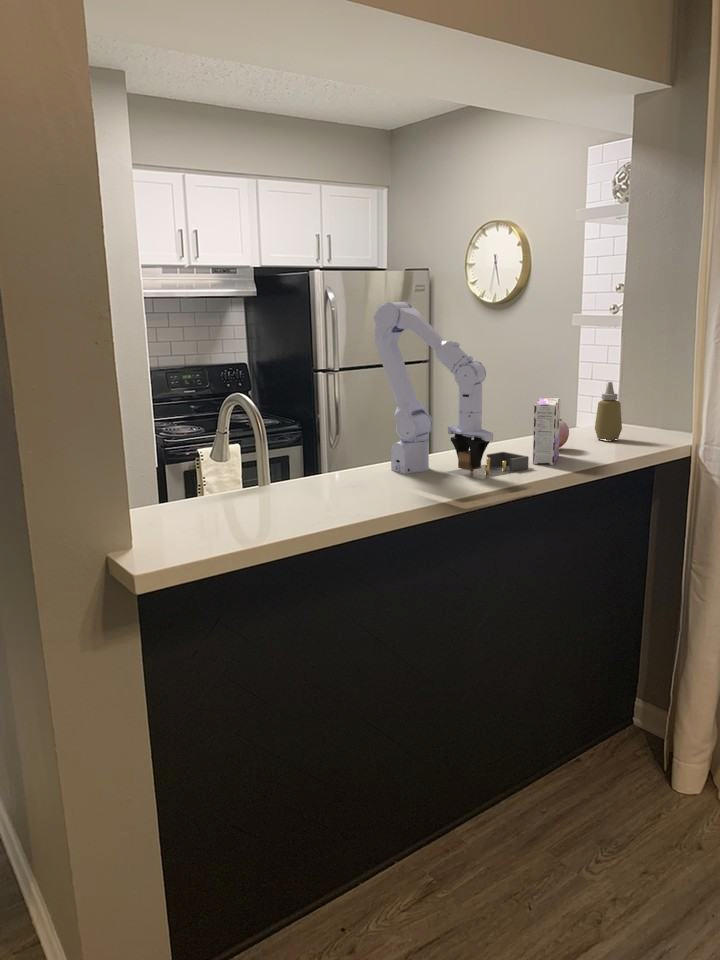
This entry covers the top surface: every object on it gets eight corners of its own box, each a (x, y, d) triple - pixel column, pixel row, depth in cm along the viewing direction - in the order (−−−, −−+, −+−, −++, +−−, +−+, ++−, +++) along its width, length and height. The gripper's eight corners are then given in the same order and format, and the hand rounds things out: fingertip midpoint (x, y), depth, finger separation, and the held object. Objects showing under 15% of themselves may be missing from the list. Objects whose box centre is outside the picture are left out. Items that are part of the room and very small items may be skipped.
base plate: (478, 484, 188) (478, 469, 188) (446, 476, 198) (446, 461, 197) (534, 473, 199) (534, 459, 198) (501, 466, 208) (501, 452, 208)
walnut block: (468, 470, 191) (469, 454, 190) (458, 467, 195) (458, 452, 194) (481, 468, 194) (481, 452, 193) (470, 465, 197) (470, 450, 196)
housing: (511, 471, 196) (512, 459, 195) (486, 465, 203) (486, 454, 203) (528, 468, 199) (528, 456, 198) (502, 462, 207) (503, 451, 206)
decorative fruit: (540, 446, 235) (541, 413, 232) (568, 447, 233) (569, 413, 230) (539, 452, 226) (540, 418, 224) (568, 453, 224) (569, 418, 222)
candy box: (538, 455, 222) (539, 397, 219) (559, 455, 220) (561, 397, 217) (532, 464, 209) (533, 403, 206) (554, 465, 208) (556, 404, 204)
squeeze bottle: (615, 437, 246) (618, 380, 242) (625, 441, 238) (628, 383, 234) (590, 438, 246) (592, 381, 242) (599, 442, 238) (602, 383, 234)
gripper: (438, 410, 195) (438, 463, 198) (478, 416, 183) (477, 472, 186) (460, 407, 198) (459, 459, 201) (500, 413, 187) (498, 468, 190)
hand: (469, 465), depth 194 cm, fingers closed on walnut block, 4 cm apart
